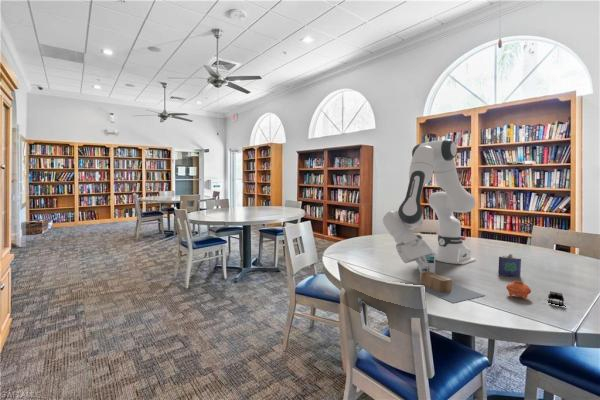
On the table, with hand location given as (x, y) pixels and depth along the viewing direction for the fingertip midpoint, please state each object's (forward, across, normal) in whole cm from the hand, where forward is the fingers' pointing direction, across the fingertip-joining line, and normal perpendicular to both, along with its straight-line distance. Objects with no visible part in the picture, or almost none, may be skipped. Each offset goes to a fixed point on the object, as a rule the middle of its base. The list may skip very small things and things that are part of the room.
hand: (426, 266), depth 135 cm
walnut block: (+3, -1, +4) cm, 5 cm away
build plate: (+35, +17, -24) cm, 46 cm away
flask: (+19, +42, -9) cm, 47 cm away
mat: (+13, -2, -3) cm, 14 cm away
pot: (+27, +14, -16) cm, 35 cm away
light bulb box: (-1, +16, +12) cm, 20 cm away
